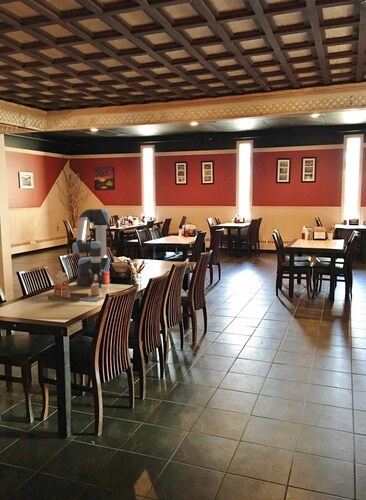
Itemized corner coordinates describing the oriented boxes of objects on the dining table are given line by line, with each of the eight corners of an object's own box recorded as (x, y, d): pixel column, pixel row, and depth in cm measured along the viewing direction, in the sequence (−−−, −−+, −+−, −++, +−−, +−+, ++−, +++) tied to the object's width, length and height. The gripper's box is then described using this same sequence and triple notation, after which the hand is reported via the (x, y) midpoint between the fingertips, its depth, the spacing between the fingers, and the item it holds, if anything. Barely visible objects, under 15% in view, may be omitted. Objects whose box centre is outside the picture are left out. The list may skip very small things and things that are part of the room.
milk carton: (53, 298, 311) (52, 271, 309) (62, 295, 319) (61, 269, 317) (62, 299, 307) (61, 272, 305) (71, 297, 315) (70, 270, 313)
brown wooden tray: (58, 295, 322) (58, 291, 322) (88, 296, 317) (88, 293, 317) (48, 299, 307) (48, 296, 307) (79, 301, 302) (79, 297, 302)
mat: (88, 297, 315) (88, 296, 315) (103, 298, 313) (103, 297, 313) (81, 300, 304) (81, 300, 304) (96, 301, 301) (96, 301, 301)
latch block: (96, 292, 327) (96, 283, 327) (101, 292, 326) (101, 283, 326) (91, 294, 318) (90, 285, 317) (95, 294, 317) (95, 285, 316)
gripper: (83, 262, 318) (83, 292, 320) (104, 262, 314) (104, 293, 316) (87, 260, 325) (88, 290, 327) (108, 261, 321) (108, 291, 324)
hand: (96, 292), depth 322 cm, fingers closed on latch block, 4 cm apart
